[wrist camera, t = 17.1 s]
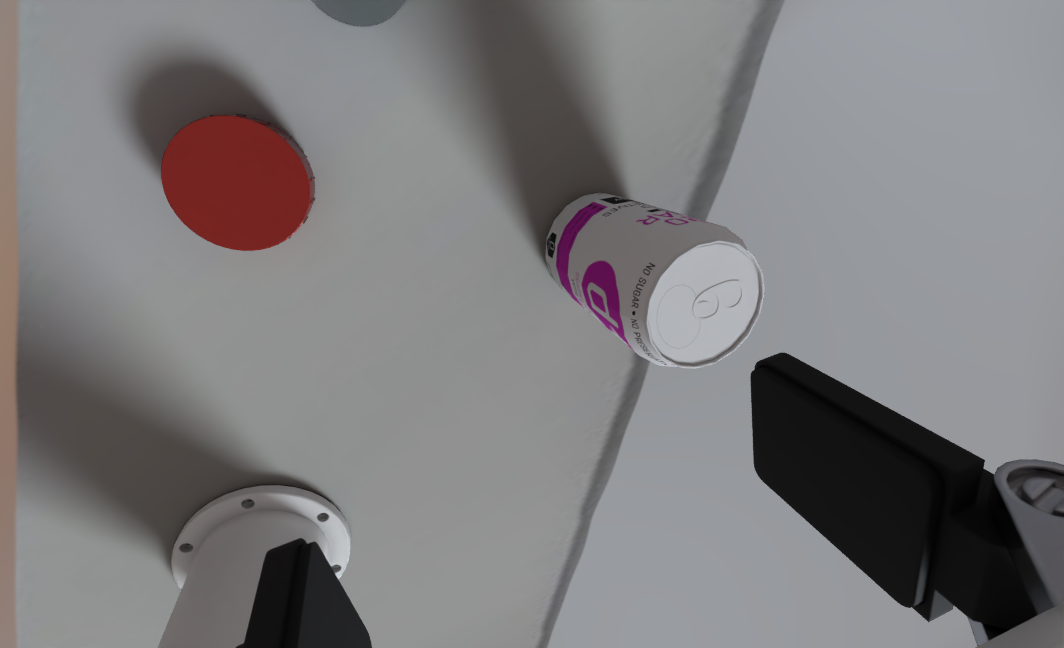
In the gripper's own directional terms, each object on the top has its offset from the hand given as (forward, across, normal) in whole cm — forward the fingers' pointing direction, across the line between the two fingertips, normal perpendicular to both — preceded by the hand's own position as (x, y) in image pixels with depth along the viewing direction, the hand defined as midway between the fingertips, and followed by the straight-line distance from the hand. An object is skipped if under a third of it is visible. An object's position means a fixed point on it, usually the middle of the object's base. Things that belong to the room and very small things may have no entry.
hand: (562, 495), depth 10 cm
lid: (+26, +9, -6) cm, 28 cm away
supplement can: (+28, -12, +4) cm, 31 cm away
